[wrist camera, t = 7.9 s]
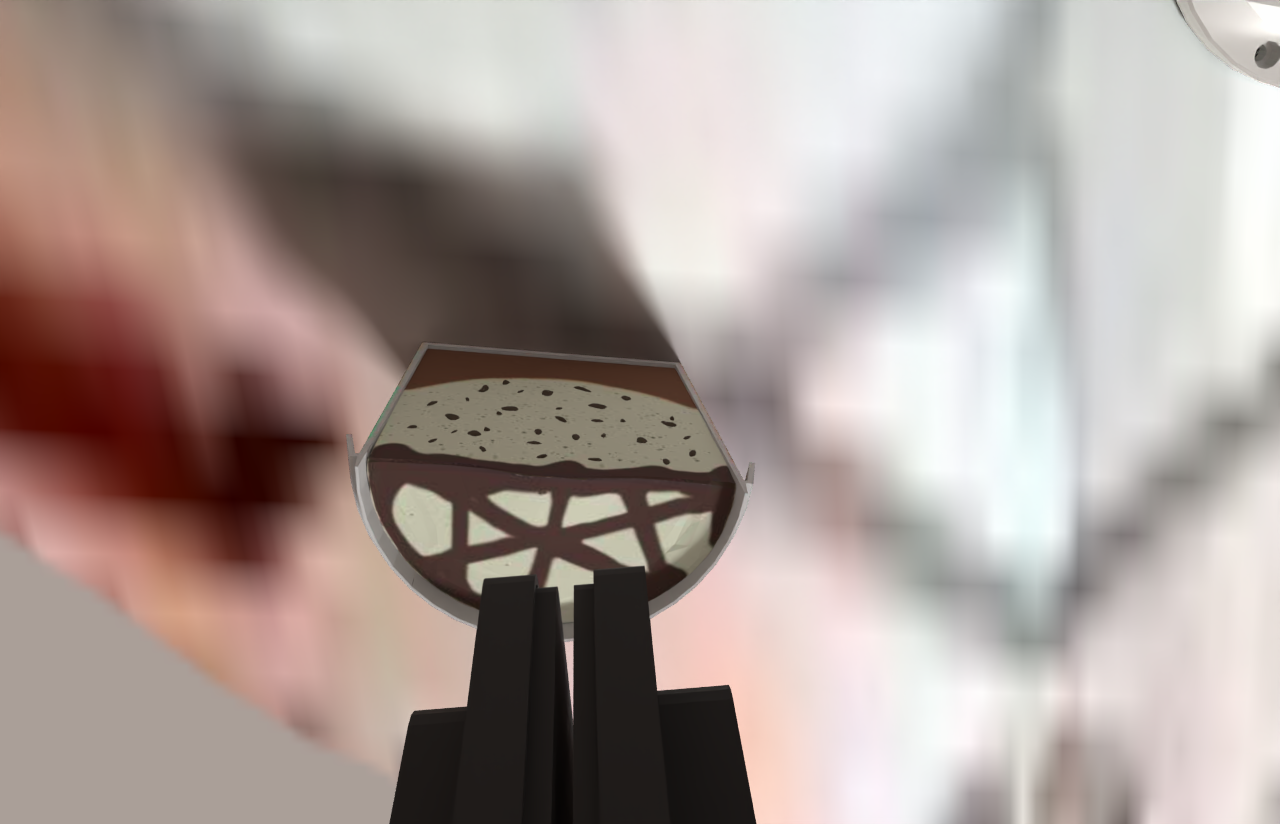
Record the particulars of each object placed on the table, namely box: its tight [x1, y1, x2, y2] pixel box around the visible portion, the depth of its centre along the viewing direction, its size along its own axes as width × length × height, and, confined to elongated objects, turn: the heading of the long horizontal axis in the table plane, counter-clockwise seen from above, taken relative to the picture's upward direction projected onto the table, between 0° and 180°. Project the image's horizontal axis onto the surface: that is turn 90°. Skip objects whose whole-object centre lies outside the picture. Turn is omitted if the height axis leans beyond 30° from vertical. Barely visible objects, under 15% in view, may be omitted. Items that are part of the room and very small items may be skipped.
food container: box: [346, 342, 755, 642], centre depth 40 cm, size 12×6×10 cm, turn 83°
